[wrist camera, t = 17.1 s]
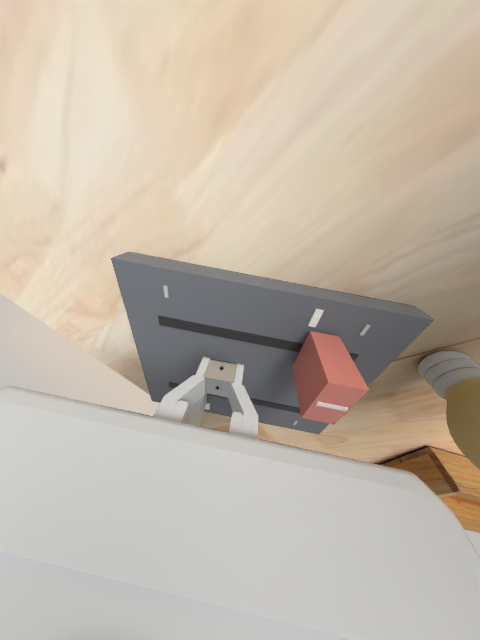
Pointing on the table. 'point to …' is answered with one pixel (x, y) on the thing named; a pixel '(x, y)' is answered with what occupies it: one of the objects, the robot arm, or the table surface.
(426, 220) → the table surface
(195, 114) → the table surface
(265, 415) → the console
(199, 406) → the grey fader
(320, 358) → the red fader
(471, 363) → the light bulb
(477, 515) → the tray
